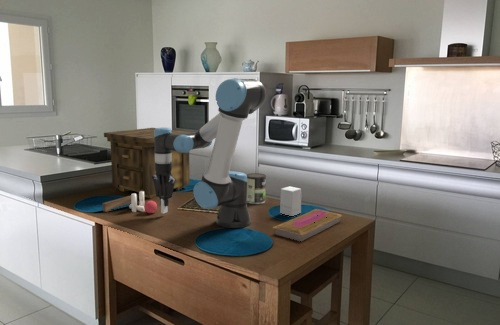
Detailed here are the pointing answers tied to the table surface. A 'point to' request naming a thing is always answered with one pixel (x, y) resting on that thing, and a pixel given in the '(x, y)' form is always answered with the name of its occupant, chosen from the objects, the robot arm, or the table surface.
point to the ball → (150, 206)
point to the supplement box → (290, 201)
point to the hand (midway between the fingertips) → (164, 212)
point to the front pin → (138, 208)
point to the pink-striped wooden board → (304, 221)
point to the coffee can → (256, 188)
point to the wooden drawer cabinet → (142, 161)
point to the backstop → (116, 203)
